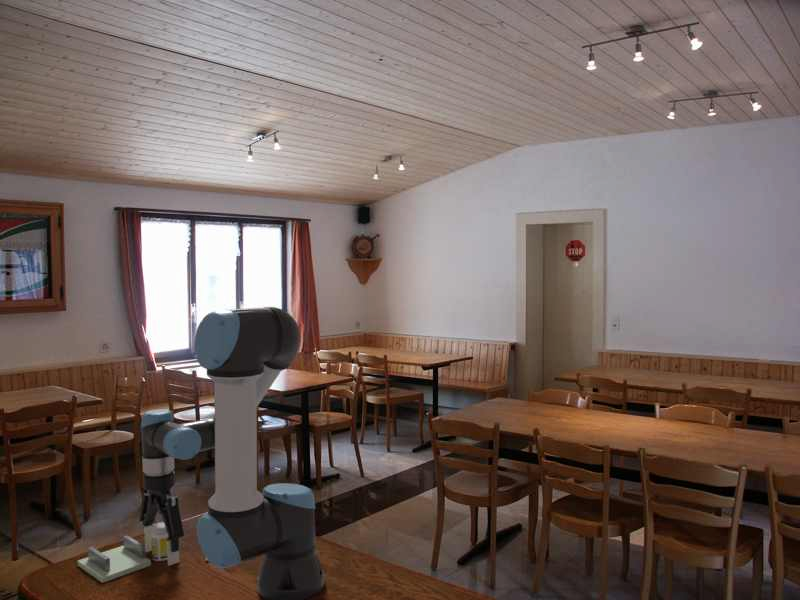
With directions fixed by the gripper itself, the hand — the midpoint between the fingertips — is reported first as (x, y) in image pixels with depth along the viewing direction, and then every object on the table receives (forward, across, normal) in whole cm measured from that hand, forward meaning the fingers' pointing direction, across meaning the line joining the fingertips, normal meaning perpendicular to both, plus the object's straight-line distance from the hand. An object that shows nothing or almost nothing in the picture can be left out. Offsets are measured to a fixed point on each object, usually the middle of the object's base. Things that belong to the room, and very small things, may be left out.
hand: (161, 556), depth 168 cm
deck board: (0, +5, +10) cm, 11 cm away
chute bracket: (-1, +6, +9) cm, 11 cm away
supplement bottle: (0, 0, 0) cm, 0 cm away
